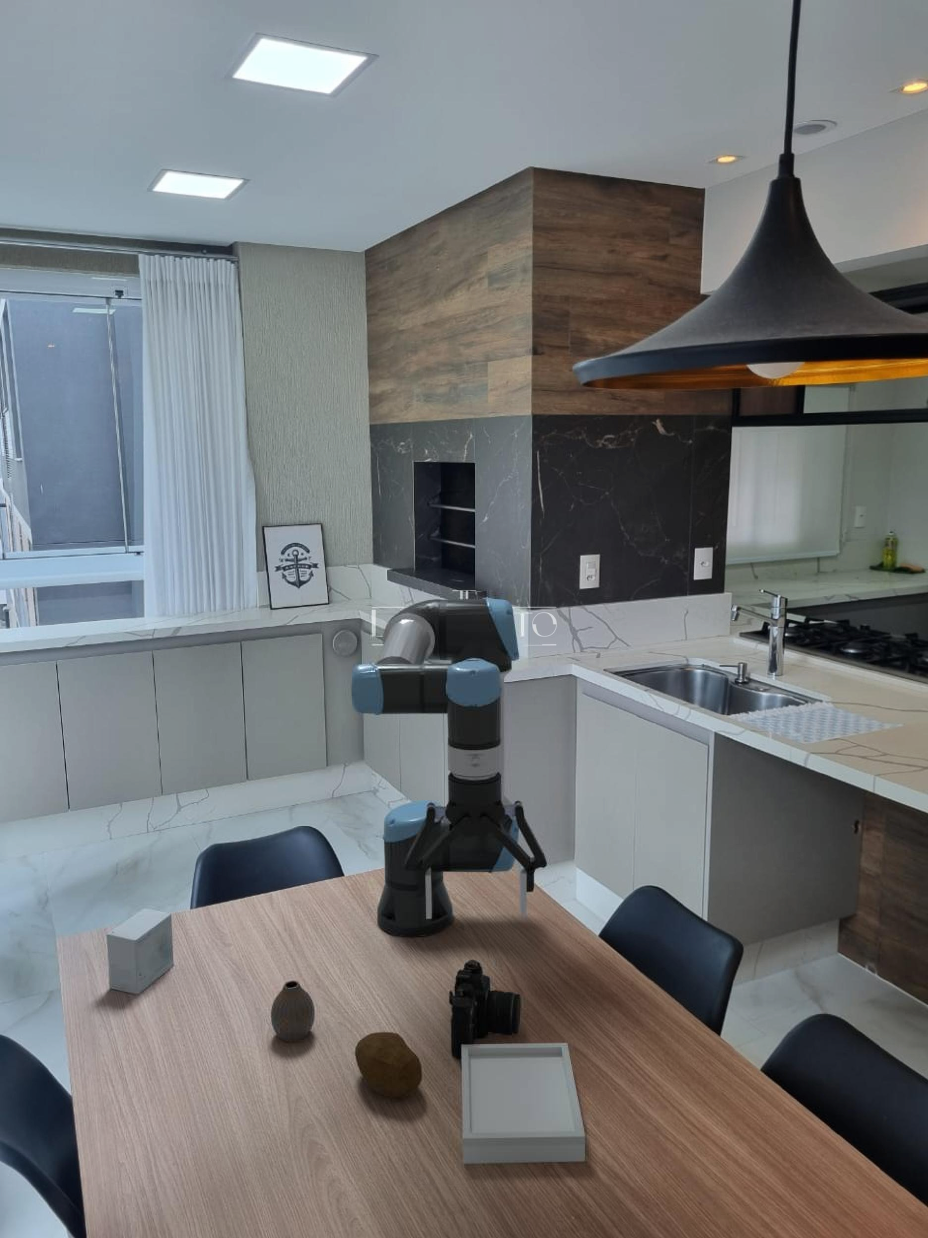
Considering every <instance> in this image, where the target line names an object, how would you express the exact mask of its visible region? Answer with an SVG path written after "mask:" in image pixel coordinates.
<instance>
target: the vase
mask: <svg viewBox="0 0 928 1238" xmlns="http://www.w3.org/2000/svg"><path fill="white" fill-rule="evenodd" d="M314 1005H315V1004H314V1001H313V1000H312V997H311V995H310V994H309V992H307V991H306V990H305V989H304V988H303V987H302V986H301V984H300V982H299V981H297V980H288V981H286V982H285V983H284V984H283V987H282V988H281V990H280V991H279V993H278V994H277V995H276V997H275V998H274V1001H273V1002H272V1005H271V1010H270V1021H271V1026H272V1028H273V1031H274V1033H275V1034H276V1035H277V1036H278V1037H279V1039H281V1040H283V1041H286V1042H291V1043H292V1042H298V1041H300V1040H303V1038H305V1037H306V1036H307V1035H308V1034H309V1033H310V1032H311V1030H312V1028H313V1026H314V1023H315V1015H316V1014H315V1011H316V1010H315V1006H314Z"/></svg>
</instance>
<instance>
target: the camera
mask: <svg viewBox="0 0 928 1238" xmlns="http://www.w3.org/2000/svg"><path fill="white" fill-rule="evenodd" d="M481 965H482V964H481V963H480V962H479V961H477V960H475V959H469V960H468V961H466V962H465V964H464V965H463V969H459V970H458V971H457V972H456V976H455V984H454V987H453V988H454V989H453V991H452V990H450V991H449V993H448V995H449V996H448V1003H449V1005H450V1006H451V1009H450V1010H451V1016H450V1049H451V1050H450V1052H451V1056H452V1057H453V1058H455V1059H459V1060H462V1045H469V1044H475V1042H476V1040H479V1039H486V1037H487V1036H488V1034H489V1033H490V1034H495V1035H496V1034H497V1035H500V1034H501V1035H506V1036H511V1035H517V1034H518V1033H519V1031H520V1026H521V1014H522V1011H521V1010H522V998H521V997H522V995H521V994H520V993H515V992H511V991H506V992H505V991H503V990H498V989H493V990H491V978H490V977H489V976H488V975H485V974H483V973H484V971H483V966H481ZM453 992H454V993H453Z"/></svg>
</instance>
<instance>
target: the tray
mask: <svg viewBox="0 0 928 1238" xmlns="http://www.w3.org/2000/svg"><path fill="white" fill-rule="evenodd" d="M461 1101H462V1102H461V1106H462V1107H461V1108H462V1109H461V1110H462V1113H461V1115H462V1116H461V1117H462V1120H461V1121H462V1123H461V1124H462V1164H469V1165H470V1164H513V1163H515V1164H519V1163H520V1164H522V1163H523V1164H524V1163H563V1162H564V1163H573V1162H574V1163H575V1162H576V1163H579V1162H583V1163H585V1161H586V1135H585V1129H584V1123H583V1118H582V1114H581V1113H582V1111H581V1108H580V1107H581V1106H580V1103H579V1102H580V1101H579V1097H578V1092H577V1086H576V1082H575V1076H574V1072H573V1067H572V1061H571V1055H570V1050H569V1045H568V1043H567V1042H544V1043H543V1042H542V1043H541V1042H540V1043H537V1042H536V1043H483V1044H481V1043H480V1044H478V1043H477V1044H476V1043H474V1044H469V1045H462V1059H461Z"/></svg>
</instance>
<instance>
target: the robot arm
mask: <svg viewBox="0 0 928 1238" xmlns="http://www.w3.org/2000/svg"><path fill="white" fill-rule="evenodd" d="M516 629H517V628H516V624H515V615H514V609H513V605H512V604H511V602H509V601H508V600H506V599H498V598H497V599H496V598H489V597H487V598H455V599H441V598H439V599H438V598H437V599H435V598H434V599H433V598H432V599H428V600H427V599H426V600H424V601H419V602H416V603H415V604H412V605H410V606H407V607H405V608H404V609H402V610H400V611H398V612H397V613H395V614H394V615H393V616H392V617H391V618H390V619H389V621H388V622H387V623H386V625H385V628H384V630H383V634H382V645H383V646H382V648H381V650H380V651H379V652H380V653H379V654H378V656H377V658H376V661H375V663H374V662H370V663H364V664H363V663H362V664H356V665H355V667H354V668H353V671H352V673H351V684H350V685H351V688H350V689H351V691H350V692H351V702H352V703H351V704H352V706H353V710H354V711H355V712H357V713H359V714H367V715H369V714H370V715H371V714H372V715H375V716H379V715H410V714H411V715H413V714H414V715H416V714H417V715H418V714H419V715H422V714H423V715H424V714H426V715H427V714H428V715H435V714H436V715H438V714H439V715H443V714H445V715H447V718H446V719H447V735H448V736H447V769H448V771H449V772H450V773H449V774H448V776H447V789H448V790H447V791H448V794H447V796H448V797H447V798H448V802H447V805H446V806H442V805H441V804H440V803H439V802H436V801H434V802H433V801H431V800H419V801H411V802H407V803H404V804H401V805H399V806H397V807H395V808H393V809H391V810H389V812H388V813H387V814H386V816H385V817H384V821H383V835H382V840H383V851H384V886H383V889H382V892H381V896H380V899H379V902H378V906H377V909H376V917H377V924H378V926H379V927H380V928H381V929H382V930H384V931H385V932H387V933H389V934H391V935H395V936H401V937H409V938H411V937H412V938H413V937H425V936H429V935H433V934H437V933H440V932H441V931H443V930H445V929H447V928H448V927H449V926H450V925H451V923H452V922H453V918H454V916H453V914H454V912H453V905H452V904H453V903H452V901H451V898H450V895H449V893H448V889H447V887H446V884H445V882H444V873H488V874H492V873H498V872H499V873H500V872H501V873H502V872H504V873H505V872H508V871H510V870H511V869H513V867H514V865H515V861H517V862H518V863H519V864H520V865H519V912H520V916H521V917H527V893H533V892H534V890H535V872H536V870H538V869H541V868H543V869H545V868H546V867H547V865H548V862H547V857H546V855H545V853H544V852H543V849H542V848H541V846H540V844H539V842H538V840H537V838H536V836H535V834H534V833H533V831H532V829H531V827H530V825H529V823H528V821H527V819H526V817H525V811H524V807H523V802H522V801H520V800H516V801H515V802H514V803H512V801H511V800H510V799H509V798H507V796H505V677H506V676H507V675H508V674H510V672H511V671H512V670H513V662H516V661H518V660H519V659H520V653H519V652H520V651H519V645H518V638H517V630H516ZM425 661H450V662H451V663H424V662H425ZM512 661H513V662H512ZM519 831H520V832H521V834H522V836H523V838H524V841H525V842H526V844H527V846H528V848H529V849H530V851H531V853H532V855H533V857H531V856H530V855H529V854H528V853H527V852H526V851H525V850H524V849H523V847H522V846H521V845H520V844H519Z"/></svg>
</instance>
